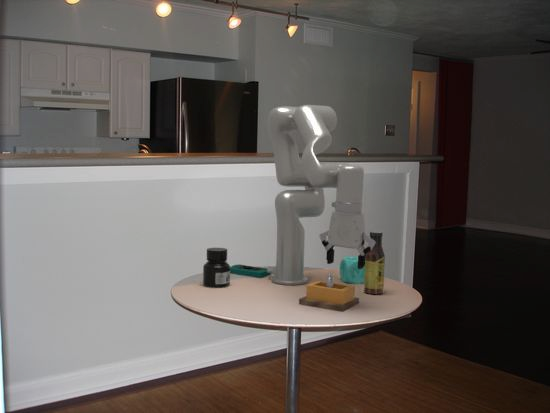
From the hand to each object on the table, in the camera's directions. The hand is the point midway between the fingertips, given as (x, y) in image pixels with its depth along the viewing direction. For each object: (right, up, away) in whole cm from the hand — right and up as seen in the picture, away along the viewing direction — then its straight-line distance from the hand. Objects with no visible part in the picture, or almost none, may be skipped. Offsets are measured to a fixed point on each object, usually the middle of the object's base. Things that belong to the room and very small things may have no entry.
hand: (345, 265), depth 176 cm
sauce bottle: (+11, -11, +18) cm, 24 cm away
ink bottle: (-40, -9, +23) cm, 47 cm away
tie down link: (-4, -10, +3) cm, 11 cm away
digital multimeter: (-30, -8, +42) cm, 52 cm away
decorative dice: (+7, -9, +35) cm, 36 cm away
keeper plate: (-5, -12, +3) cm, 13 cm away
